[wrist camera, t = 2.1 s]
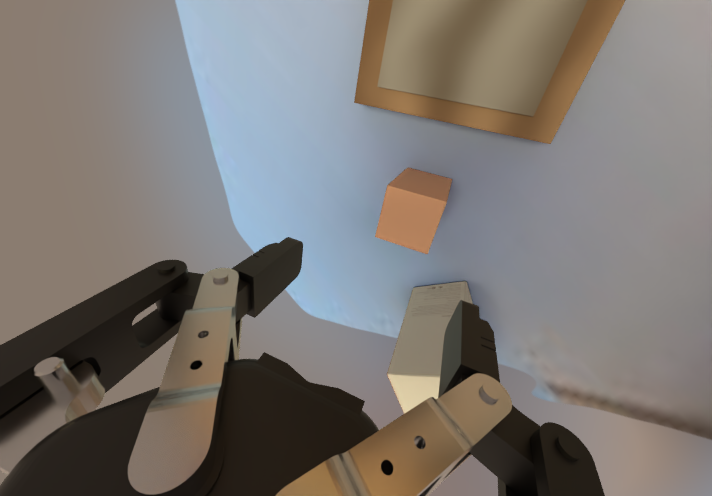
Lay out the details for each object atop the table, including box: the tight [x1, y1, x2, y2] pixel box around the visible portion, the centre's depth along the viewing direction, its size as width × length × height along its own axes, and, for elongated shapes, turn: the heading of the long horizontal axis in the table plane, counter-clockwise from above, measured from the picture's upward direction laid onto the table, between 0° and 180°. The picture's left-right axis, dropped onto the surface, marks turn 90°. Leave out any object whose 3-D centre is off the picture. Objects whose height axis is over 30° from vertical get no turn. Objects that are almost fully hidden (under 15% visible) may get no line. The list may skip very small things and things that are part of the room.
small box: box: [387, 281, 473, 414], centre depth 27 cm, size 8×6×13 cm
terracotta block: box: [375, 168, 452, 254], centre depth 24 cm, size 4×4×8 cm
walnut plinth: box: [354, 0, 625, 144], centre depth 19 cm, size 16×12×3 cm
